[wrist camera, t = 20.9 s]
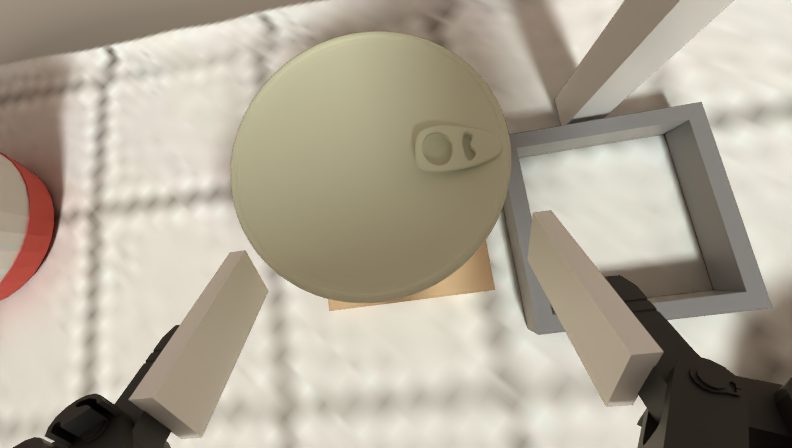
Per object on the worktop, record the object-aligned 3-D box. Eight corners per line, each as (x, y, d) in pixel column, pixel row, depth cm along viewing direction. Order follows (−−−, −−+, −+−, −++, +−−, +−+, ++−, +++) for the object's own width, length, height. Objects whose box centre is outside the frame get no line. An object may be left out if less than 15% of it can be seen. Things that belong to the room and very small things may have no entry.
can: (472, 285, 20) (539, 299, 8) (334, 292, 21) (209, 314, 9) (460, 151, 21) (501, -3, 10) (332, 162, 22) (223, 34, 10)
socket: (663, 79, 21) (1101, -286, 7) (736, 304, 19) (1649, 391, 5) (484, 111, 22) (573, -157, 8) (527, 328, 20) (766, 458, 6)
